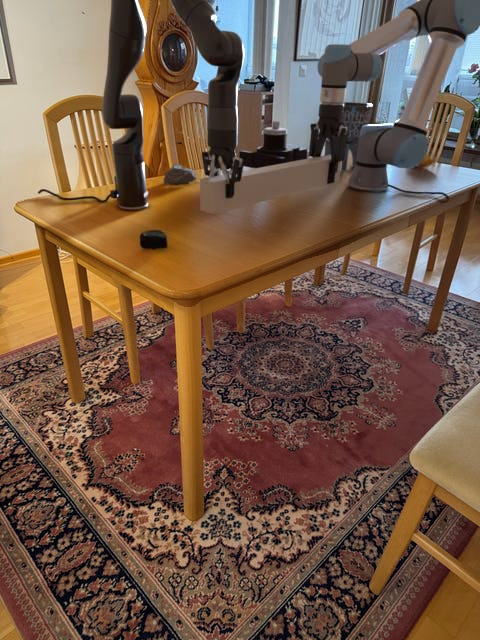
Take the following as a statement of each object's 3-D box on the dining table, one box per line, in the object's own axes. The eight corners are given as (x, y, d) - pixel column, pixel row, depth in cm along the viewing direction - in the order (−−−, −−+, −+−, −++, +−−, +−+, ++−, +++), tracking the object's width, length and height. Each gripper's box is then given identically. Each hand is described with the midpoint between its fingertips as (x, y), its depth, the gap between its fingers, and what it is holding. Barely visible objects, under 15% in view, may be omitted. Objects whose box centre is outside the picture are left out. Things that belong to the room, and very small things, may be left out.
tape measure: (140, 252, 115) (139, 238, 113) (141, 242, 120) (140, 229, 119) (167, 251, 116) (166, 237, 114) (167, 241, 121) (166, 228, 120)
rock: (189, 177, 184) (188, 161, 181) (201, 182, 179) (201, 165, 176) (161, 182, 177) (159, 165, 173) (173, 187, 171) (172, 170, 168)
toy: (409, 160, 208) (403, 153, 221) (411, 174, 211) (405, 166, 224) (434, 152, 205) (427, 146, 218) (436, 166, 208) (429, 159, 221)
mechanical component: (240, 120, 182) (283, 115, 202) (239, 174, 192) (280, 164, 212) (283, 126, 170) (325, 120, 190) (280, 183, 180) (320, 171, 200)
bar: (326, 179, 155) (329, 154, 151) (338, 182, 152) (342, 156, 147) (200, 210, 120) (199, 178, 116) (212, 214, 117) (212, 182, 113)
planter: (313, 167, 208) (319, 103, 195) (331, 160, 222) (338, 101, 209) (353, 173, 199) (362, 107, 185) (369, 166, 213) (379, 104, 199)
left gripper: (192, 124, 114) (194, 192, 122) (231, 131, 105) (230, 203, 113) (214, 122, 118) (214, 188, 127) (253, 128, 110) (251, 198, 118)
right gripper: (301, 101, 141) (295, 177, 153) (349, 106, 130) (338, 188, 141) (316, 100, 146) (309, 174, 157) (364, 105, 134) (353, 184, 146)
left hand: (222, 195), depth 120 cm, fingers closed on bar, 5 cm apart
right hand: (323, 181), depth 149 cm, fingers closed on bar, 5 cm apart
